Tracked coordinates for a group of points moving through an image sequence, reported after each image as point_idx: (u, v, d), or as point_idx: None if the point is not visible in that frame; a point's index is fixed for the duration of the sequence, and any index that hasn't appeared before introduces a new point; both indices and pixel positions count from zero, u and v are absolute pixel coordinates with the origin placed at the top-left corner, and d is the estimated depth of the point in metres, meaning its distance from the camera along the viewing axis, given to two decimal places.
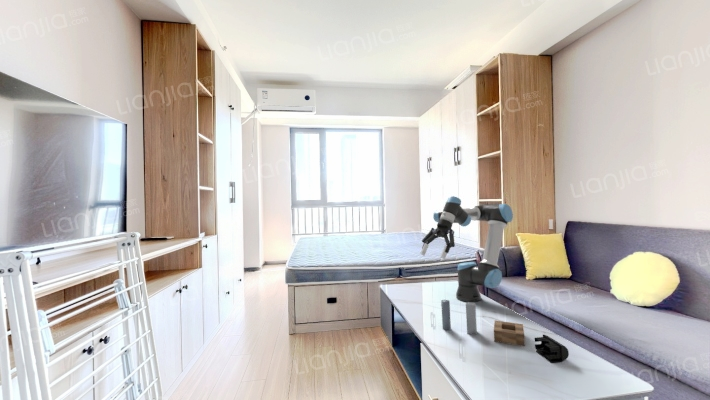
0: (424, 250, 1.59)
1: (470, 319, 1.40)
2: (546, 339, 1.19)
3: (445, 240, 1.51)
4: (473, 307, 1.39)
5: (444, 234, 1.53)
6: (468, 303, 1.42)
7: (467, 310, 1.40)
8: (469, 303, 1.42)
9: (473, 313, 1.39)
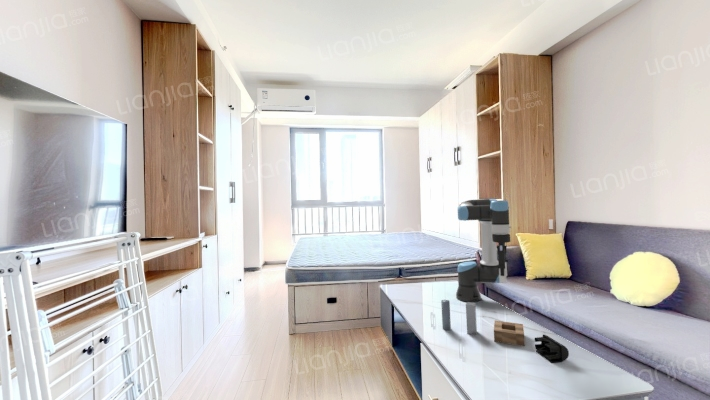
0: None
1: (470, 319, 1.40)
2: (546, 339, 1.19)
3: (505, 257, 1.39)
4: (473, 307, 1.39)
5: None
6: (468, 303, 1.42)
7: (467, 310, 1.40)
8: (469, 303, 1.42)
9: (473, 313, 1.39)
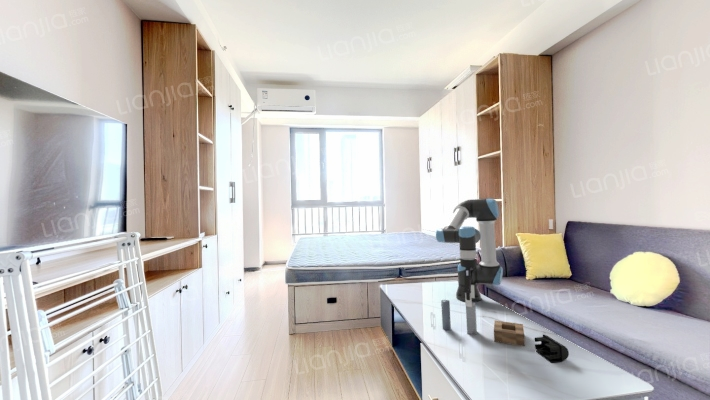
0: None
1: (470, 319, 1.40)
2: (546, 339, 1.19)
3: (473, 280, 1.46)
4: (473, 307, 1.39)
5: (473, 274, 1.44)
6: None
7: (467, 310, 1.40)
8: None
9: (473, 313, 1.39)
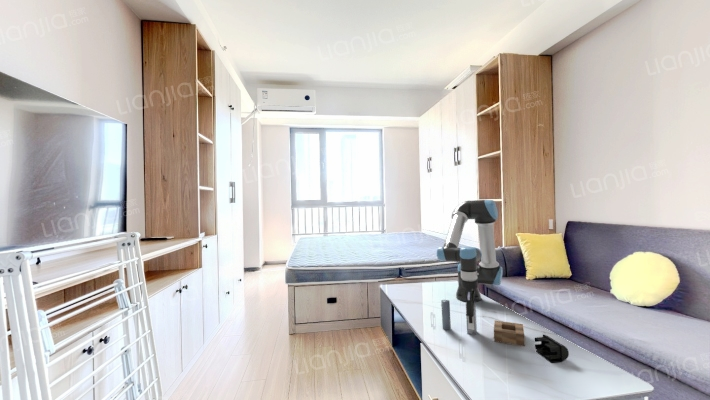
0: None
1: None
2: (546, 339, 1.19)
3: None
4: (473, 307, 1.39)
5: (474, 297, 1.43)
6: None
7: None
8: None
9: (473, 313, 1.39)
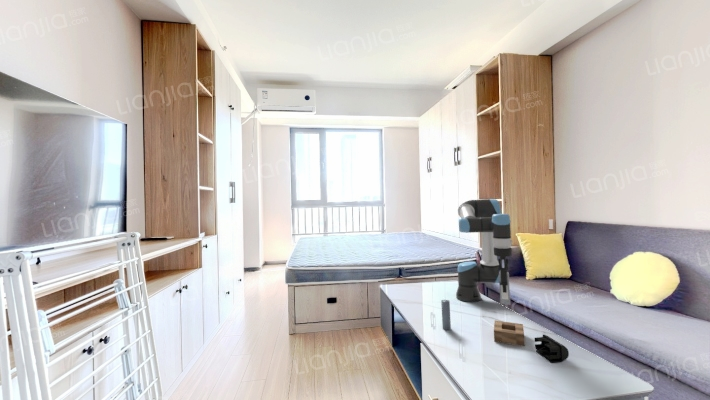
0: None
1: None
2: (546, 339, 1.19)
3: None
4: (507, 276, 1.32)
5: None
6: None
7: (500, 279, 1.33)
8: None
9: (507, 282, 1.32)
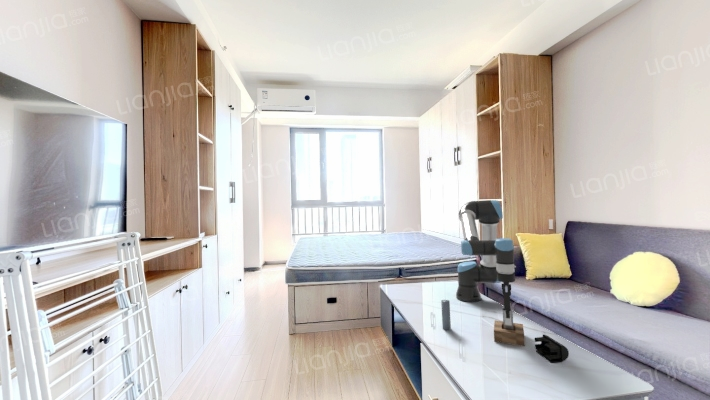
0: None
1: None
2: (546, 339, 1.19)
3: None
4: (511, 312, 1.31)
5: None
6: None
7: None
8: (506, 307, 1.34)
9: (511, 318, 1.31)
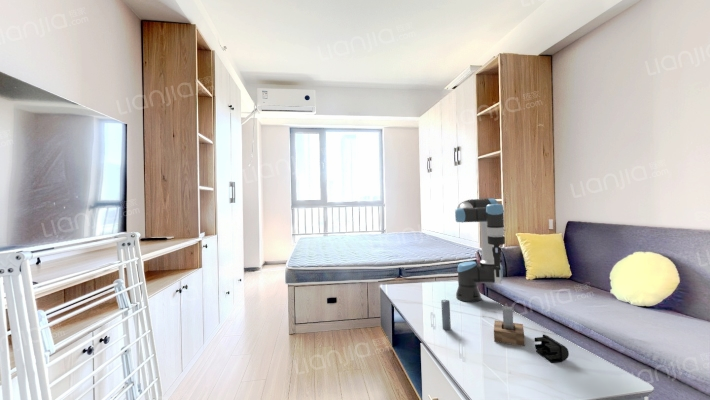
0: None
1: (507, 324, 1.32)
2: (546, 339, 1.19)
3: None
4: (511, 311, 1.32)
5: None
6: (505, 307, 1.35)
7: (504, 314, 1.33)
8: (506, 307, 1.35)
9: (511, 318, 1.32)
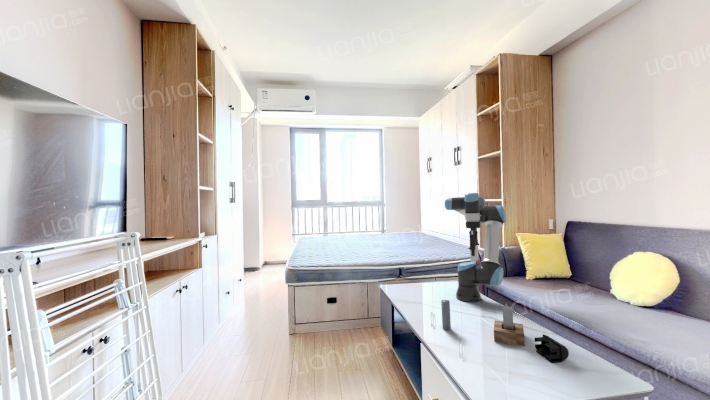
0: None
1: (507, 324, 1.32)
2: (546, 339, 1.19)
3: (477, 241, 1.64)
4: (511, 311, 1.32)
5: (477, 235, 1.63)
6: (505, 307, 1.35)
7: (504, 314, 1.33)
8: (506, 307, 1.35)
9: (511, 318, 1.32)
